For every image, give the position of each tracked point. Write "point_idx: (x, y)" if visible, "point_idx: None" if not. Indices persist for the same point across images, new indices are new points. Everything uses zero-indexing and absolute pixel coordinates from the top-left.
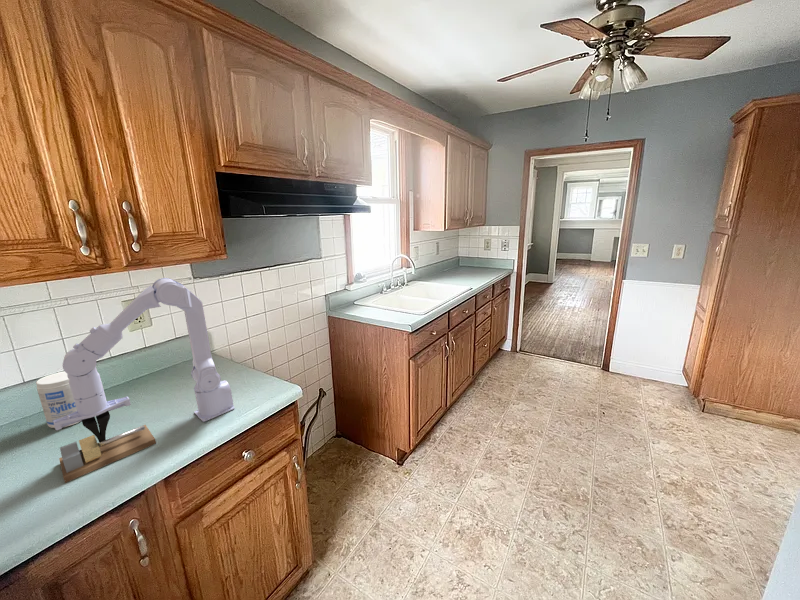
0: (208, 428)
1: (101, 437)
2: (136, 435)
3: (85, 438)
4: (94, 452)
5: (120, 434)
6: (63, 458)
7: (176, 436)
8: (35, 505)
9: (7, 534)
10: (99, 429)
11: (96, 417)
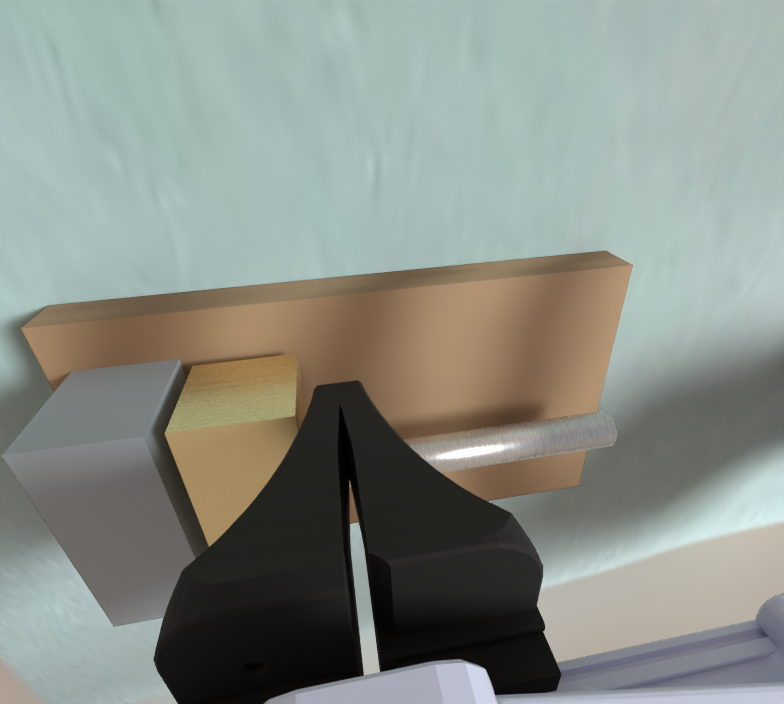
0: (756, 483)
1: (348, 477)
2: (529, 384)
3: (223, 437)
4: None
5: (464, 461)
6: (110, 608)
7: (647, 460)
8: (62, 598)
9: (23, 679)
10: (350, 454)
11: (376, 630)
